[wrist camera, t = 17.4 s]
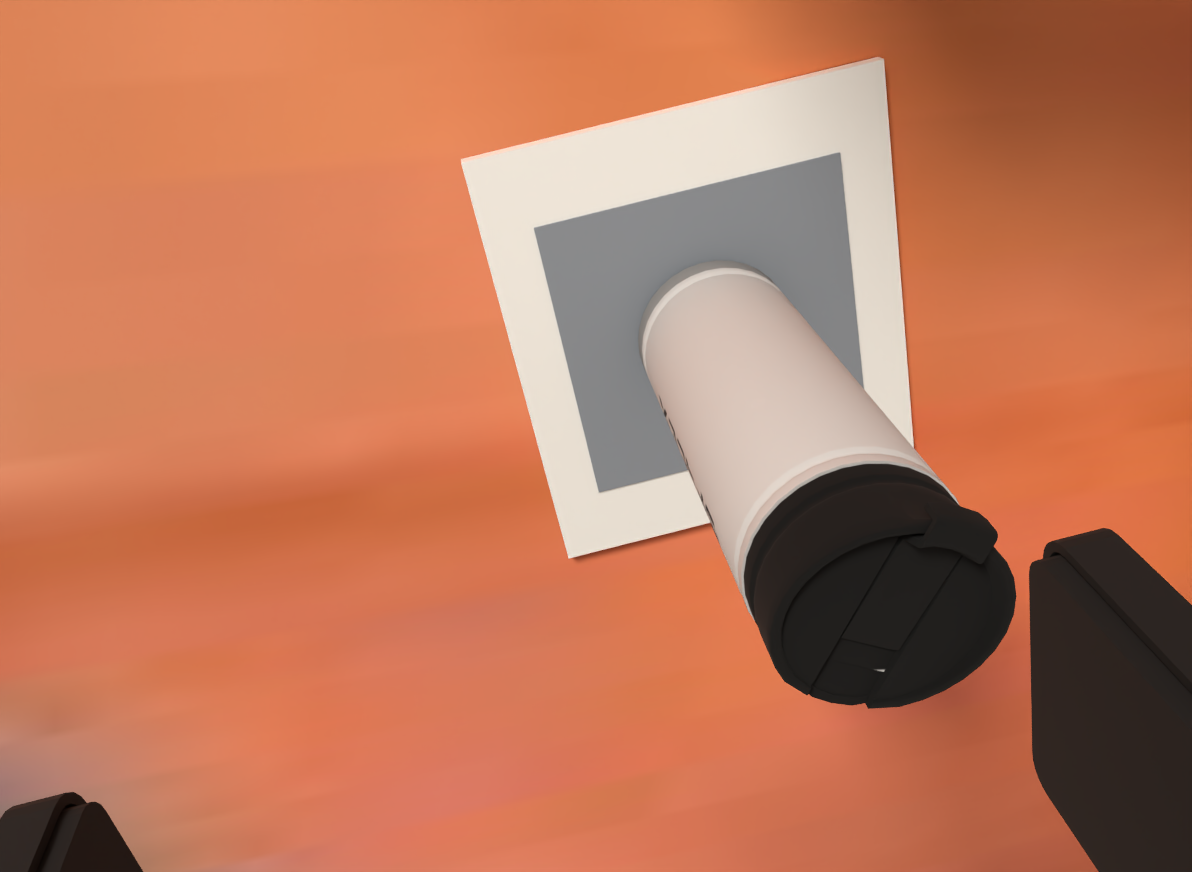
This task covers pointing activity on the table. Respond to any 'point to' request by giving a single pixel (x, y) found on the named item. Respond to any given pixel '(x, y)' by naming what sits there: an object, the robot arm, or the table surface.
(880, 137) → the card
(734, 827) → the table surface
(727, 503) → the travel mug
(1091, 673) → the robot arm
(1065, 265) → the table surface
